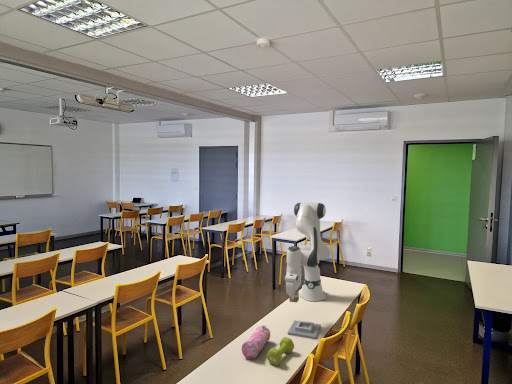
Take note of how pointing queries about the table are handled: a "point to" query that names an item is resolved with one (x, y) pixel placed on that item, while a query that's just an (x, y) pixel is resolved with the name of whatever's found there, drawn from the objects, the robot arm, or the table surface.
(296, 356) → the table surface
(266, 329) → the pencil case
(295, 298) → the stack block
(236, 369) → the table surface
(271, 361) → the dumbbell
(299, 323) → the socket board
